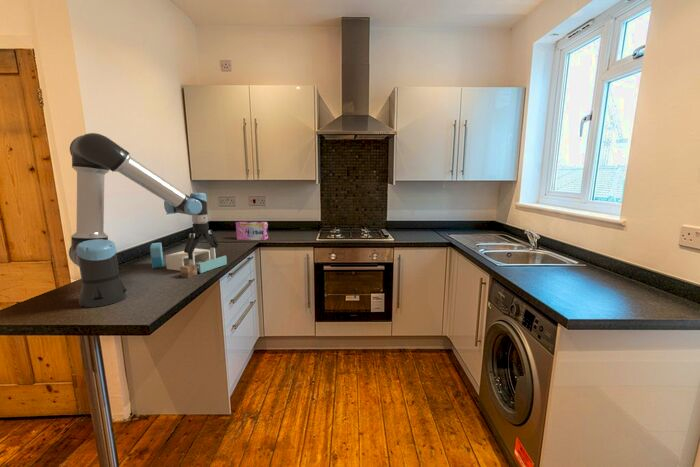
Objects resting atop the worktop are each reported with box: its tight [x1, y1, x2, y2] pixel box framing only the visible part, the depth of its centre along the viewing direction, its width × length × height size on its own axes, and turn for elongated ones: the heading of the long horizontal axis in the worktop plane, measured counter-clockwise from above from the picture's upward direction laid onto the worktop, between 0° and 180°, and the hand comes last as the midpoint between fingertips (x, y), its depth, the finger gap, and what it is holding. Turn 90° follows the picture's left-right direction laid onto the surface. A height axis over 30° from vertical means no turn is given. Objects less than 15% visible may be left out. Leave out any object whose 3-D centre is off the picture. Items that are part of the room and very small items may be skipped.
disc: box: [196, 260, 209, 266], centre depth 166 cm, size 8×8×2 cm
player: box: [164, 247, 211, 272], centre depth 170 cm, size 12×18×7 cm, turn 157°
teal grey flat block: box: [195, 255, 228, 274], centre depth 165 cm, size 13×18×5 cm
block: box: [179, 264, 198, 279], centre depth 152 cm, size 5×5×5 cm
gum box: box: [235, 220, 269, 241], centre depth 242 cm, size 24×8×14 cm, turn 85°
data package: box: [149, 242, 164, 269], centre depth 169 cm, size 12×4×12 cm
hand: (203, 262), depth 165 cm, fingers open, 13 cm apart
